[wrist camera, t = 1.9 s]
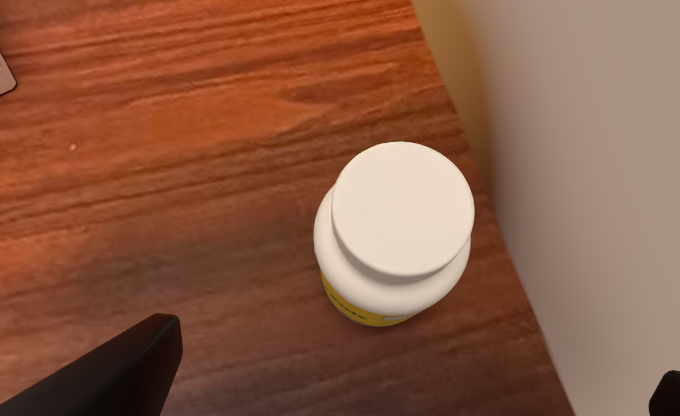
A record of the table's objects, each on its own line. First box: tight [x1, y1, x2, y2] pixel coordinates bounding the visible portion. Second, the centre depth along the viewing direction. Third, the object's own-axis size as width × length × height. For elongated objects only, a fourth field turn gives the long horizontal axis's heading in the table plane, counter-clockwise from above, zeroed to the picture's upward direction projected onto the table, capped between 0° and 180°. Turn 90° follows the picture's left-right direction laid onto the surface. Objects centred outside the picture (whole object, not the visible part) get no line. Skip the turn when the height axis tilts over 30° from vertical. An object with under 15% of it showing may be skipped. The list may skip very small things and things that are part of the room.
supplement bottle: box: [314, 142, 474, 327], centre depth 16 cm, size 5×5×10 cm
